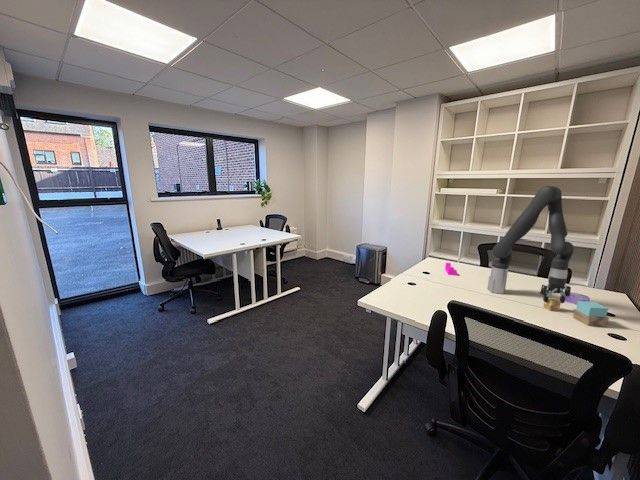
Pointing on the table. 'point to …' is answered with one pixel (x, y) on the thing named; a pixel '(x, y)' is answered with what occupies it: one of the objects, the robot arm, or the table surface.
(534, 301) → the table surface
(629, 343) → the table surface
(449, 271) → the magenta irregular piece
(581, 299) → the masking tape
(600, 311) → the block
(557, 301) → the ochre block
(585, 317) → the tower base
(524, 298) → the table surface
